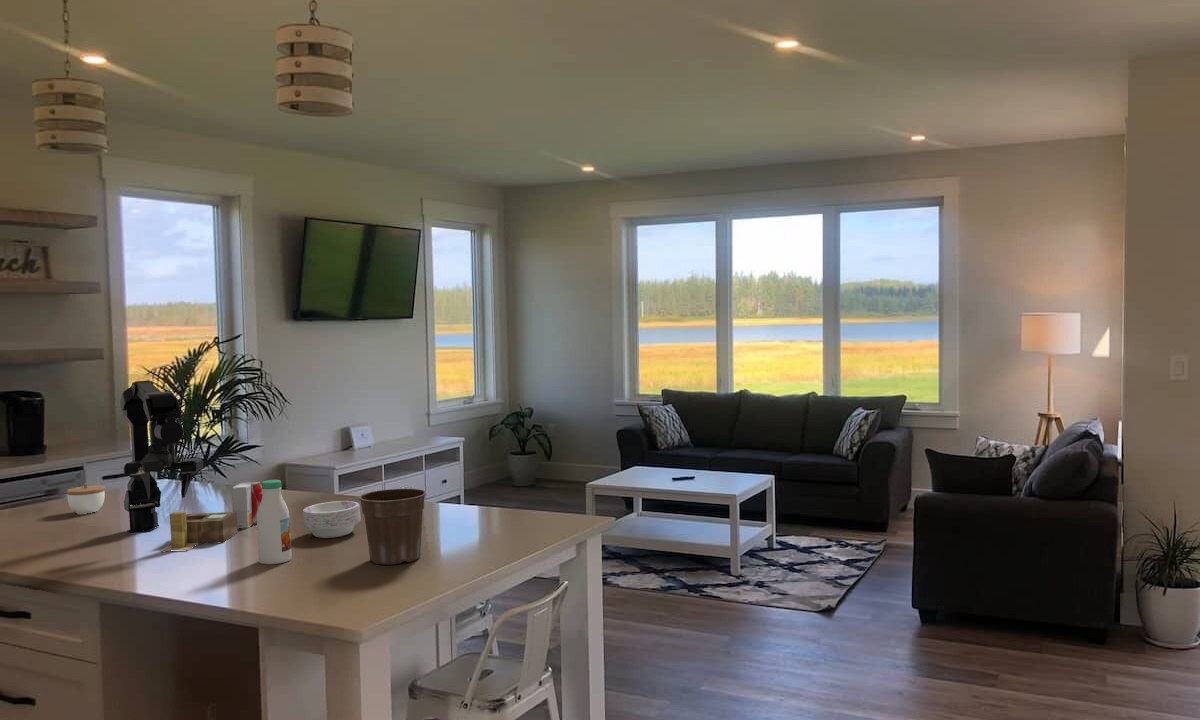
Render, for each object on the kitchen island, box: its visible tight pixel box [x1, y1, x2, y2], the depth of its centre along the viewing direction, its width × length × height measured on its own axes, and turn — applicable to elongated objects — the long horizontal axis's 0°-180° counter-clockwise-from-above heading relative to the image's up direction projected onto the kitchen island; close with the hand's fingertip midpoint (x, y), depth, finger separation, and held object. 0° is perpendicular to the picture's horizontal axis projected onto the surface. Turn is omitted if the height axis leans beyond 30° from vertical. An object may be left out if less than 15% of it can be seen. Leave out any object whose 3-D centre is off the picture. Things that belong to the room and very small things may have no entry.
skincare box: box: [231, 484, 254, 530], centre depth 269 cm, size 6×4×12 cm
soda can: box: [239, 480, 263, 525], centre depth 273 cm, size 7×7×12 cm
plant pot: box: [358, 488, 427, 566], centre depth 228 cm, size 16×16×16 cm
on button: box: [207, 514, 227, 519], centre depth 255 cm, size 4×4×3 cm
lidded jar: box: [66, 482, 106, 515], centre depth 296 cm, size 11×11×9 cm
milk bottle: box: [256, 479, 293, 565], centre depth 229 cm, size 8×8×20 cm
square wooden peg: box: [169, 511, 188, 548], centre depth 245 cm, size 3×3×9 cm
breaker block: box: [186, 511, 238, 544], centre depth 255 cm, size 14×11×6 cm
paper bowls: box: [302, 500, 362, 539], centre depth 256 cm, size 15×15×8 cm
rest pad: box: [160, 543, 199, 552], centre depth 246 cm, size 7×7×1 cm
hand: (165, 498), depth 247 cm, fingers open, 9 cm apart
